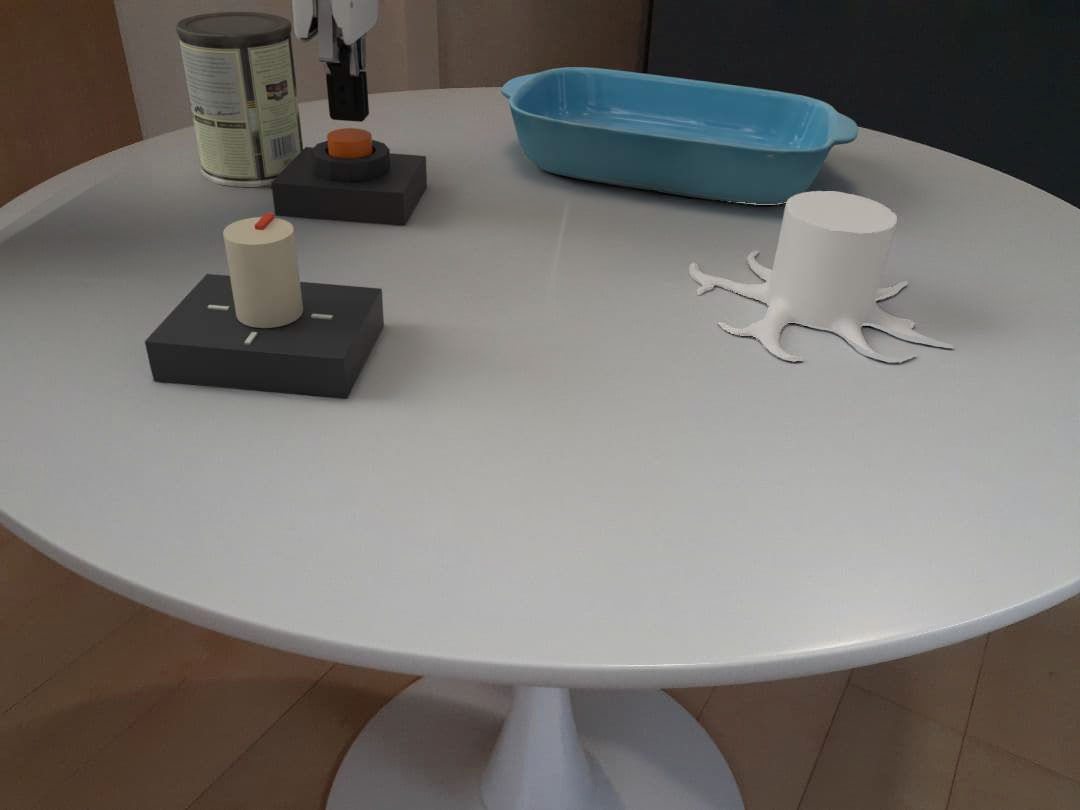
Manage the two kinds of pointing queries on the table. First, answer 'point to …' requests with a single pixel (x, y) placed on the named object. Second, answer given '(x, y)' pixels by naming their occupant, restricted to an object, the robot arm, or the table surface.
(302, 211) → the button base
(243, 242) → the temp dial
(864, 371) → the table surface
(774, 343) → the tree stump
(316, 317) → the dial panel
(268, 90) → the coffee can
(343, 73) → the robot arm
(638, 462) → the table surface
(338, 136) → the power button
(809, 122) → the casserole dish
